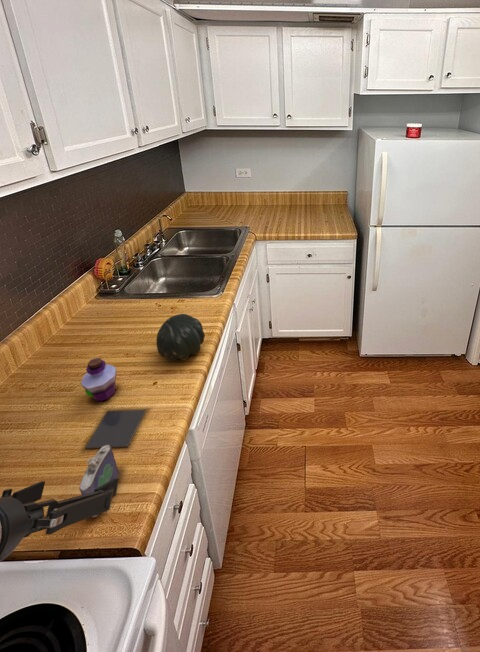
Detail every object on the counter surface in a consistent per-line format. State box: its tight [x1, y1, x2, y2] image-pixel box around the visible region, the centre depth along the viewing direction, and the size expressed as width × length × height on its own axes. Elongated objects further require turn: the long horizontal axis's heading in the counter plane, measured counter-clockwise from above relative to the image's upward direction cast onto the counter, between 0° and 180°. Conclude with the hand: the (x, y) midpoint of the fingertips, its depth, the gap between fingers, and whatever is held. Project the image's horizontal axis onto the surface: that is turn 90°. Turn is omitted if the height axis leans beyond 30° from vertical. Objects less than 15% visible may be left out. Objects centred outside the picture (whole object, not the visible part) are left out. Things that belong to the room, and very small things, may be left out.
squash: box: [156, 313, 206, 361], centre depth 108 cm, size 14×15×15 cm
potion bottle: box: [80, 357, 117, 404], centre depth 92 cm, size 9×9×12 cm
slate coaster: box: [84, 409, 147, 450], centre depth 84 cm, size 10×10×1 cm
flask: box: [78, 445, 120, 519], centre depth 69 cm, size 9×3×11 cm, turn 4°
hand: (78, 488), depth 62 cm, fingers open, 13 cm apart
